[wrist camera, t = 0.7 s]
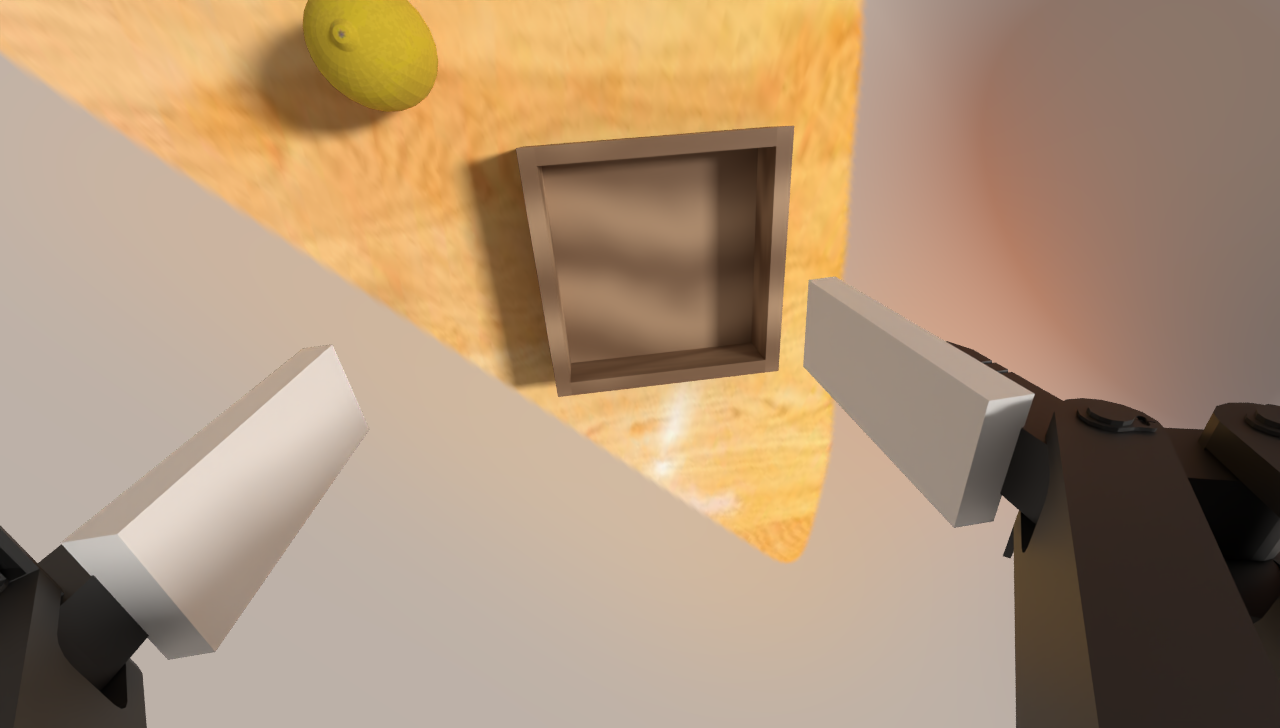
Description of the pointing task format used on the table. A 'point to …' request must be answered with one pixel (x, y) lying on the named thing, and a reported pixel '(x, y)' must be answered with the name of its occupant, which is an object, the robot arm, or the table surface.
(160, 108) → the table surface
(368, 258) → the table surface
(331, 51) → the lemon
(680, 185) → the walnut bin
